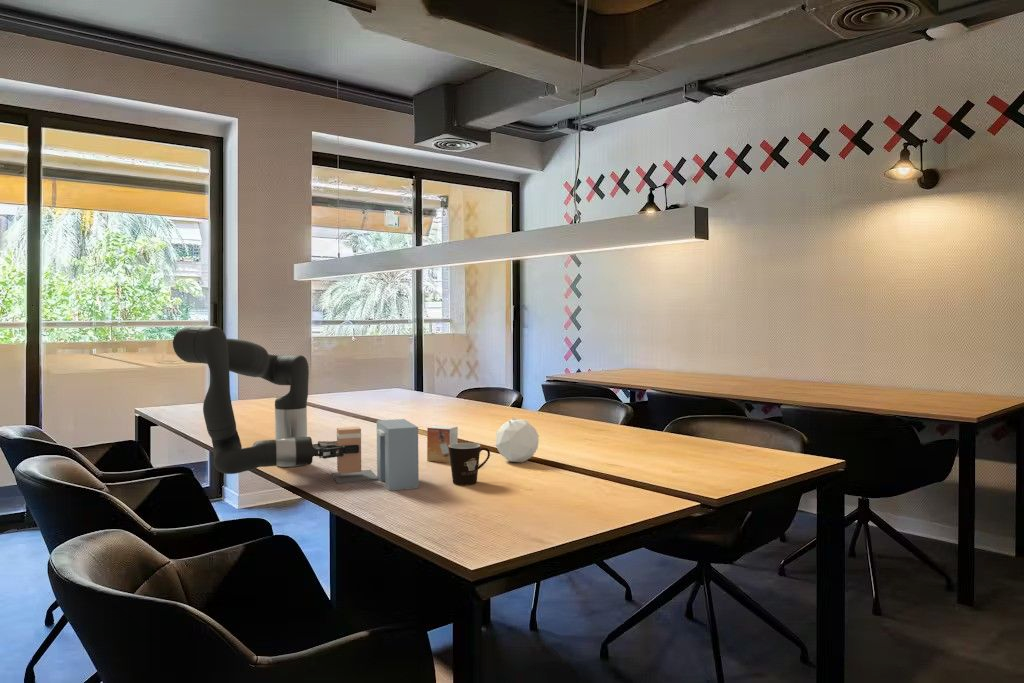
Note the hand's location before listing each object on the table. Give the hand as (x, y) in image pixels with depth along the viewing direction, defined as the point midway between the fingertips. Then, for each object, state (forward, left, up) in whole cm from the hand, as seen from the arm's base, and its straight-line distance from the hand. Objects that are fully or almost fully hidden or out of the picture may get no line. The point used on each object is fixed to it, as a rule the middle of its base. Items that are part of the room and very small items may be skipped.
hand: (357, 447), depth 202 cm
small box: (-13, +28, -9) cm, 32 cm away
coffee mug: (+18, +27, -9) cm, 34 cm away
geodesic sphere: (-3, +49, -9) cm, 50 cm away
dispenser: (+11, +8, -8) cm, 16 cm away
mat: (0, -1, -8) cm, 8 cm away
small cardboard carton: (0, -2, -7) cm, 7 cm away
